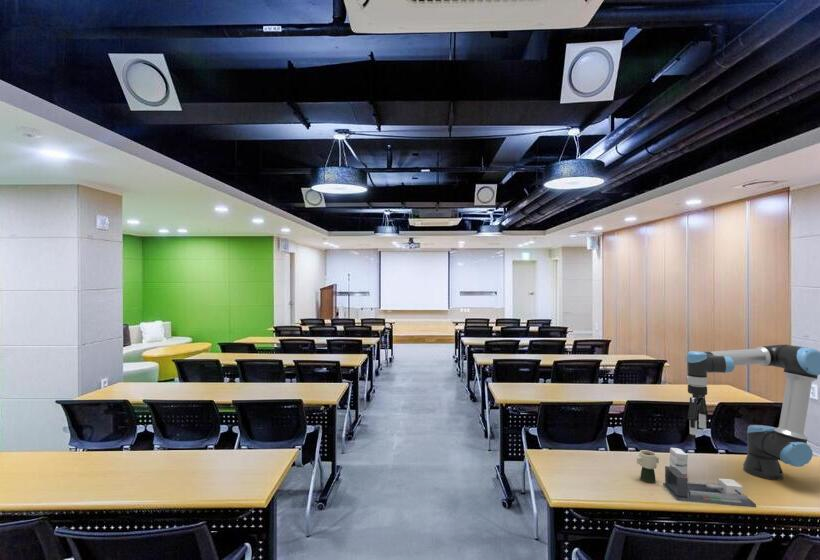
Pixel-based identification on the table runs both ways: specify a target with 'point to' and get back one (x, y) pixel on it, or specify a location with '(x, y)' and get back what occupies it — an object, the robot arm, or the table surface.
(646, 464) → the character mug
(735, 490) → the gauge carriage
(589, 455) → the table surface
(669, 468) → the gauge bed
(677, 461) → the ink box
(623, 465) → the table surface
